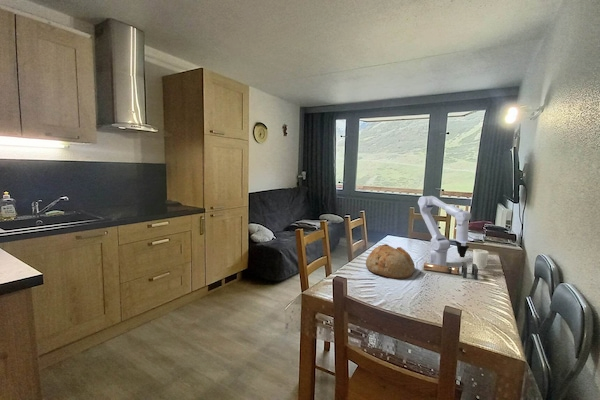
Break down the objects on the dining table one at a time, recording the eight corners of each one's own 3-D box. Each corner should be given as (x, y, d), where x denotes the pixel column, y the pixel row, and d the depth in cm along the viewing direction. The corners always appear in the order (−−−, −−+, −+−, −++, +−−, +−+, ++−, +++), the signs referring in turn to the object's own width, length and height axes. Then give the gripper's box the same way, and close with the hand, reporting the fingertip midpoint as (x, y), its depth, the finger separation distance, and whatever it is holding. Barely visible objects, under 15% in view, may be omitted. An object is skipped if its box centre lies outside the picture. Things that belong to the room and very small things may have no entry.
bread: (358, 270, 162) (359, 245, 160) (378, 261, 178) (379, 238, 176) (402, 284, 143) (403, 256, 141) (420, 272, 160) (421, 247, 158)
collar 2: (474, 279, 148) (474, 268, 147) (471, 273, 156) (472, 263, 155) (477, 280, 147) (478, 269, 147) (474, 274, 156) (475, 263, 155)
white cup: (489, 269, 164) (491, 253, 163) (474, 268, 166) (476, 252, 164) (483, 265, 172) (485, 249, 170) (469, 264, 173) (471, 248, 172)
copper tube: (423, 270, 160) (423, 264, 159) (423, 267, 164) (423, 261, 163) (459, 276, 153) (459, 269, 152) (458, 272, 157) (458, 266, 156)
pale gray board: (421, 273, 158) (421, 272, 158) (421, 267, 168) (421, 266, 168) (481, 282, 146) (481, 281, 146) (477, 275, 156) (478, 274, 156)
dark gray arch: (463, 278, 150) (464, 267, 149) (461, 272, 158) (462, 262, 157) (466, 278, 149) (467, 267, 149) (464, 272, 158) (465, 262, 157)
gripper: (472, 235, 149) (471, 259, 151) (468, 230, 163) (467, 252, 164) (457, 234, 152) (456, 258, 154) (454, 229, 165) (453, 251, 167)
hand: (461, 255), depth 159 cm, fingers open, 7 cm apart
